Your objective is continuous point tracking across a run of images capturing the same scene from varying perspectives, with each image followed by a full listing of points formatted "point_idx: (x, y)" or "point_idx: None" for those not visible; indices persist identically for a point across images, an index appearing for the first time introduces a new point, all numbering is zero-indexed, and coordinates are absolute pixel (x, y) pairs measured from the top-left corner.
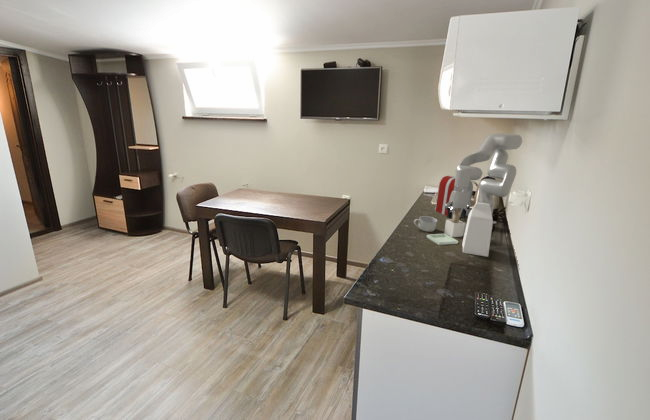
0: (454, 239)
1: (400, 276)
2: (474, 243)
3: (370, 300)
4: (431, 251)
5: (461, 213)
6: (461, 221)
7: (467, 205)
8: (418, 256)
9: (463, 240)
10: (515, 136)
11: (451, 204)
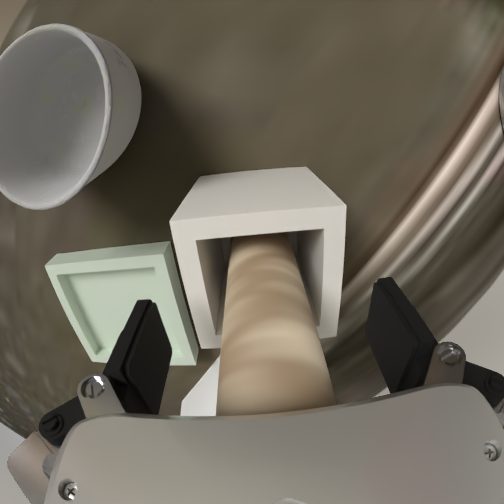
0: (184, 348)
1: (24, 416)
2: None
3: (12, 429)
4: (68, 372)
5: (391, 310)
6: (335, 293)
7: (499, 414)
8: (36, 382)
9: (209, 393)
10: None
11: (129, 481)
